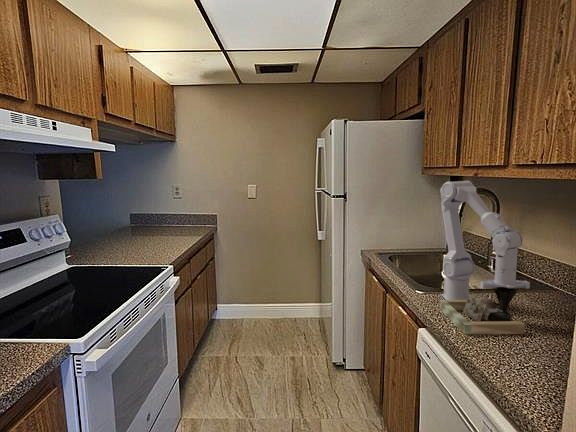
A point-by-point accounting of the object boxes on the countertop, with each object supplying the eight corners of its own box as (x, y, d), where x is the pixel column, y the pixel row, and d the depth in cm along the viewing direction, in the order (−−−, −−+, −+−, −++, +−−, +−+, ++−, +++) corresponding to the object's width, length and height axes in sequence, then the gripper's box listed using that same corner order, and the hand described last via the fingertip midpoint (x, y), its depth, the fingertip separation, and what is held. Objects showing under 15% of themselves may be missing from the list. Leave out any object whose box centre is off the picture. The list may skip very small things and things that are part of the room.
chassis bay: (438, 308, 128) (438, 300, 127) (489, 307, 127) (489, 299, 127) (464, 334, 108) (464, 324, 108) (524, 333, 107) (524, 324, 107)
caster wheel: (512, 330, 115) (490, 332, 111) (482, 310, 125) (461, 311, 121) (519, 312, 113) (498, 313, 109) (489, 293, 123) (468, 294, 119)
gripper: (488, 272, 111) (486, 314, 113) (537, 271, 111) (534, 314, 113) (477, 266, 118) (475, 306, 120) (523, 265, 118) (520, 305, 120)
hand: (503, 309), depth 117 cm, fingers closed
